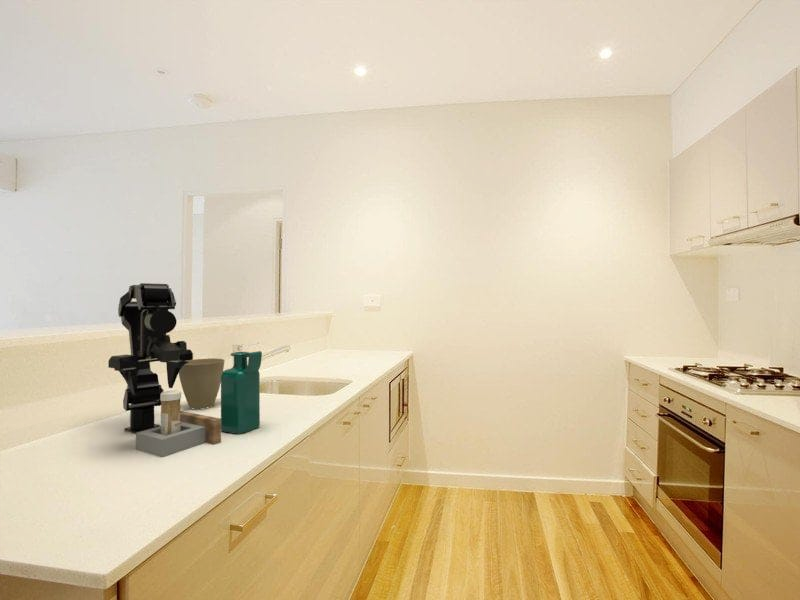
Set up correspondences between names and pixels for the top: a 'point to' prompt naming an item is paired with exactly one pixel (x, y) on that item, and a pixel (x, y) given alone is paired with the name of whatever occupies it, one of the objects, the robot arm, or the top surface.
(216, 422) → the walnut wall
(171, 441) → the holder block
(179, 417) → the sprinkles bottle
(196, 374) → the plant pot
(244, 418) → the pitcher
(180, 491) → the top surface
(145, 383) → the robot arm
